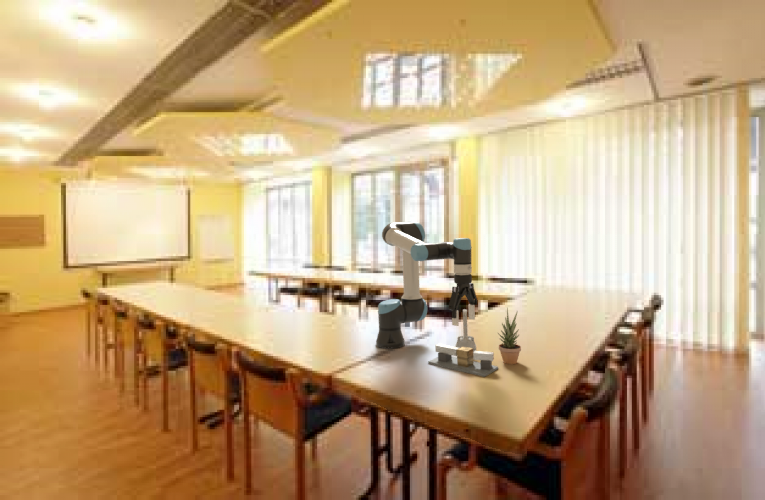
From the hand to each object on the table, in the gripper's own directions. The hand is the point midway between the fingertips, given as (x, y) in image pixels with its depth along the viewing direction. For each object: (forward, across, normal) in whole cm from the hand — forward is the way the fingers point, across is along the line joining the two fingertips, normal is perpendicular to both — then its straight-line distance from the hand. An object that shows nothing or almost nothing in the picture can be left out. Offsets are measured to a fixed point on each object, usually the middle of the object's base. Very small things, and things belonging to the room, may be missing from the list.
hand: (463, 322), depth 179 cm
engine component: (+20, +20, +11) cm, 30 cm away
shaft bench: (+20, 0, +1) cm, 20 cm away
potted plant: (+20, +17, -13) cm, 29 cm away
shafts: (+15, +1, +1) cm, 15 cm away
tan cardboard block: (+19, 0, 0) cm, 19 cm away
